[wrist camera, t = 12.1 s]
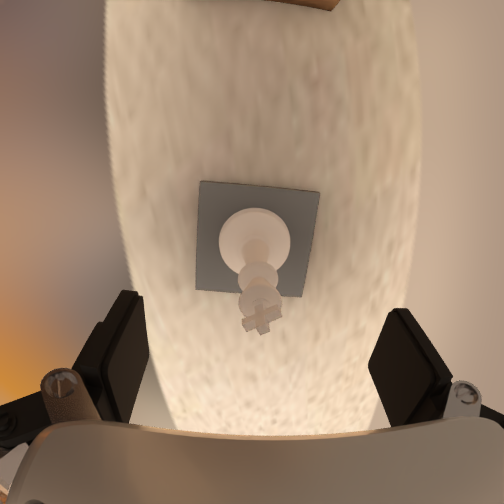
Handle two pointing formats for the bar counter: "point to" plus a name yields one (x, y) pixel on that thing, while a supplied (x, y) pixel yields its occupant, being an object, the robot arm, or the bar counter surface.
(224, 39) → the bar counter surface
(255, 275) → the chess piece
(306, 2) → the brown piece
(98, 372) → the robot arm
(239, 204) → the pad
